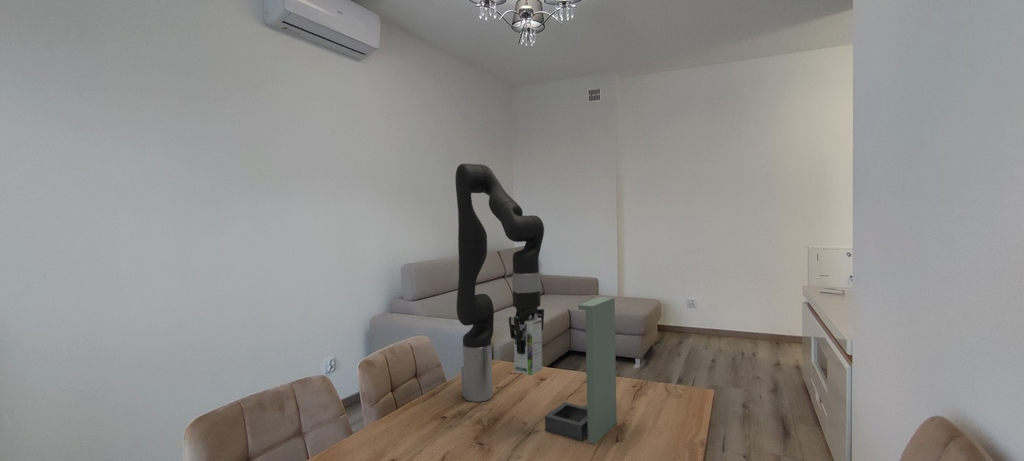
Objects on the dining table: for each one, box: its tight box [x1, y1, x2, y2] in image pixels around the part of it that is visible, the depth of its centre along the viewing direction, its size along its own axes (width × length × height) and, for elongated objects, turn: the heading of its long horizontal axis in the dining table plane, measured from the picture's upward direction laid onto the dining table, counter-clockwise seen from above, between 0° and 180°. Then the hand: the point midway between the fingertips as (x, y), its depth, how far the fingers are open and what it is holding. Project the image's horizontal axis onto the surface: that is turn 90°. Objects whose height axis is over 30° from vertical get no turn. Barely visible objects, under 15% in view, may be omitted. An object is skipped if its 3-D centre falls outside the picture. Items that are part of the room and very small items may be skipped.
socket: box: [544, 401, 588, 442], centre depth 124 cm, size 11×11×4 cm
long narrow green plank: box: [577, 295, 618, 445], centre depth 121 cm, size 4×14×35 cm, turn 145°
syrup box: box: [513, 318, 543, 376], centre depth 123 cm, size 6×6×14 cm
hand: (528, 350), depth 123 cm, fingers closed on syrup box, 6 cm apart
